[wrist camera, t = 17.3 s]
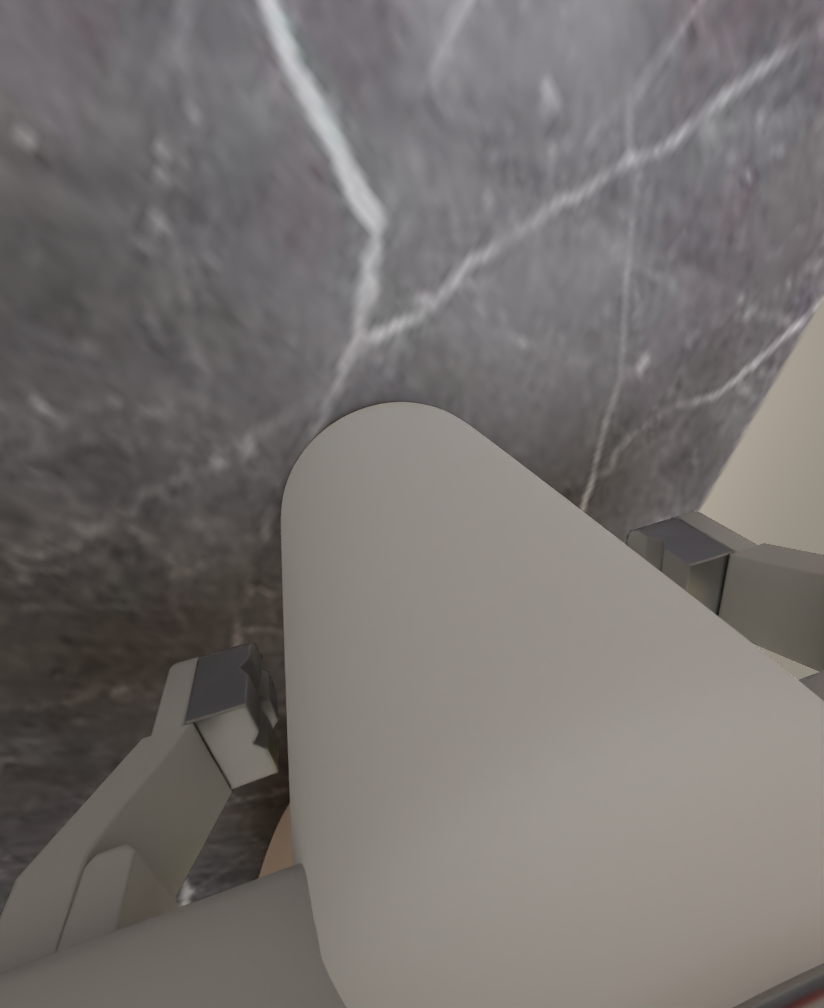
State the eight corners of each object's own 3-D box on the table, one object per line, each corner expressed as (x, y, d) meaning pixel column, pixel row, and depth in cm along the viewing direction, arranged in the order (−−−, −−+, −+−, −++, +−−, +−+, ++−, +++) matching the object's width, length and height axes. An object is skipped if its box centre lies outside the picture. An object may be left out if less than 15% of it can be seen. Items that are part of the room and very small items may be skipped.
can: (440, 612, 16) (734, 1206, 6) (249, 571, 14) (182, 1475, 3) (530, 442, 14) (1198, 883, 4) (327, 358, 12) (714, 951, 2)
